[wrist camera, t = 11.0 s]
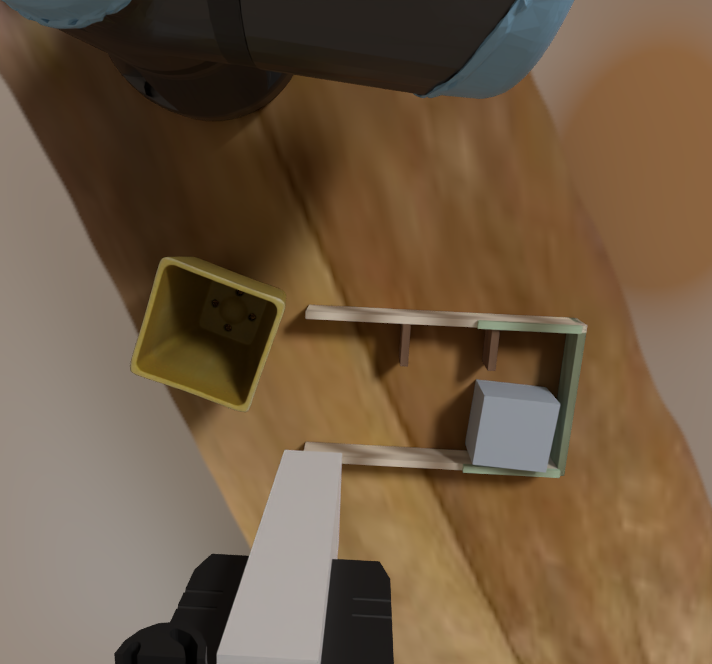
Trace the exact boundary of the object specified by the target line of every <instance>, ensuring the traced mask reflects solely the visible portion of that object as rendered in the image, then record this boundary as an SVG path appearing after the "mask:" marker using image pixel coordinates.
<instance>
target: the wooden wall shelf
mask: <svg viewBox="0 0 712 664" xmlns="http://www.w3.org/2000/svg"><path fill="white" fill-rule="evenodd" d="M305 319H319V320H339V321H359V322H379V323H398V324H401V333H400V348H399V361H400V366H408V356H409V342H410V328H411V324H418V325H438V326H458V327H477V328H478V329H485V337H484V347H483V356H482V362H483V364H484V365H485V367H486V368H487V370H488V371H495V369H496V361H497V352H498V343H499V334H500V330H513V331H533V332H552V333H566V340H565V347H564V354H563V361H562V368H561V375H560V381H559V388H558V395H557V401H558V402H559V403H560V404H561V405H560V409H559V414H558V419H557V423H556V428H555V432H554V437H553V442H552V446H551V451H550V456H549V460H548V465H547V470H546V473H545V472H536V471H527V470H518V469H509V468H499V467H490V466H481V465H473V464H472V462H471V459H470V456H469V453H468V451H466V450H447V449H429V448H411V447H392V446H374V445H355V444H337V443H318V442H306V443H305V447H304V451H316V452H334V453H342V464H358V465H376V466H394V467H413V468H431V469H449V470H463V473H480V474H498V475H516V476H534V477H552V478H560V476H564V473H565V466H566V460H567V453H568V447H569V441H570V434H571V428H572V421H573V415H574V408H575V402H576V395H577V389H578V382H579V376H580V369H581V363H582V356H583V350H584V344H585V337H586V331H587V325H586V324H584V323H583V322H581V321H580V320H578V319H577V318H564V317H544V316H524V315H504V314H484V313H464V312H444V311H424V310H404V309H384V308H364V307H344V306H324V305H309V306H308V308H307V310H306V318H305Z"/></svg>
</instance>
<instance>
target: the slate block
mask: <svg viewBox="0 0 712 664" xmlns="http://www.w3.org/2000/svg"><path fill="white" fill-rule="evenodd" d="M560 405H561V404H560V403H559V402H558V401H557V399H556V398H555V397H554V396H553V395H552V394H551V392H550V391H549V390H548V389H547V388H546V387H540V386H530V385H521V384H512V383H503V382H494V381H485V380H476V383H475V388H474V394H473V400H472V406H471V412H470V418H469V424H468V429H467V435H466V441H465V445H466V448H467V450H468V453H469V456H470V459H471V462H472V464H473V465H481V466H490V467H499V468H509V469H518V470H527V471H536V472H545V473H546V470H547V465H548V460H549V456H550V451H551V446H552V442H553V437H554V432H555V428H556V423H557V419H558V414H559V409H560Z"/></svg>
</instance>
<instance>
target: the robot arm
mask: <svg viewBox="0 0 712 664" xmlns="http://www.w3.org/2000/svg"><path fill="white" fill-rule="evenodd" d="M2 1H4V2H6V4H7V5H8V6H9V7H10V8H12V9H13V10H15V11H18V12H19V13H20V14H21V15H22V16H23V17H25V18H27V19H29V20H33V21H37V22H38V23H39V24H41V25H44V26H48V27H52V28H57V29H59V30H61V31H63V32H65V33H67V34H69V35H71V36H74V37H76V38H78V39H80V40H82V41H84V42H86V43H88V44H90V45H92V46H94V47H96V48H98V49H100V50H103V51H105V52H107V53H108V55H109V56H110V58H111V60H112V61H113V63H114V64H115V66H116V67H117V69H118V70H119V71H120V73H121V74H122V75H123V76H124V77H125V79H126V80H127V81H128V82H129V83H130V84H131V85H132V86H133V87H134V88H135V89H136V90H138V91H139V92H140V93H141V94H142V95H144V96H145V97H146V98H148V99H149V100H151V101H152V102H154V103H155V104H157V105H159V106H161V107H163V108H165V109H167V110H169V111H172V112H175V113H178V114H180V115H183V116H186V117H190V118H194V119H199V120H206V121H221V120H229V119H234V118H238V117H242V116H244V115H247V114H250V113H252V112H254V111H256V110H258V109H259V108H261V107H263V106H264V105H266V104H267V103H269V102H270V101H271V100H272V99H274V98H275V97H276V96H277V95H278V94H279V93H280V92H281V91H282V90H283V89H284V87H285V86H286V85H287V84H288V82H289V81H290V80H291V78H292V77H293V75H300V76H306V77H312V78H319V79H325V80H331V81H338V82H344V83H351V84H357V85H363V86H370V87H376V88H383V89H389V90H395V91H402V92H408V93H413V94H414V95H416V96H418V97H421V98H425V97H429V98H433V97H437V96H440V95H445V96H455V97H466V98H476V99H484V98H489V97H494V96H497V95H499V94H502V93H504V92H506V91H508V90H509V89H511V88H512V87H514V86H515V85H516V84H517V83H519V82H520V81H521V80H522V79H523V78H524V77H525V76H526V75H527V74H528V73H529V72H530V71H531V70H532V68H533V67H534V66H535V65H536V64H537V62H538V61H539V60H540V58H541V57H542V55H543V54H544V52H545V51H546V50H547V48H548V46H549V45H550V43H551V42H552V40H553V39H554V37H555V35H556V34H557V32H558V30H559V28H560V27H561V25H562V23H563V21H564V19H565V17H566V15H567V13H568V12H569V10H570V8H571V6H572V4H573V2H574V0H2ZM341 470H342V453H334V452H316V451H297V450H284V453H283V456H282V459H281V462H280V465H279V468H278V471H277V474H276V477H275V480H274V483H273V486H272V489H271V492H270V495H269V498H268V501H267V504H266V507H265V510H264V513H263V516H262V519H261V522H260V525H259V528H258V531H257V534H256V537H255V540H254V543H253V546H252V549H251V552H250V555H249V556H242V555H225V554H211V555H210V556H209V557H208V558H207V559H206V560H204V561H203V562H202V563H201V564H200V565H199V566H198V567H197V568H196V569H195V570H194V572H193V574H192V576H191V578H190V581H189V583H188V585H187V587H186V591H185V593H183V596H182V598H181V600H180V602H179V604H178V609H176V611H175V613H174V615H173V617H172V619H171V621H170V622H168V623H158V624H155V625H152V626H150V627H147V628H144V629H141V630H139V631H138V632H136V633H135V634H134V635H132V636H131V637H129V638H128V639H126V640H125V641H124V642H123V644H122V645H121V646H120V647H119V649H118V650H117V651H116V652H115V664H394V658H393V634H392V611H391V587H390V578H389V576H388V575H387V573H386V571H385V570H384V568H383V566H382V565H381V563H380V562H379V561H361V560H343V559H337V555H338V544H339V519H340V495H341Z"/></svg>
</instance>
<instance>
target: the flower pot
mask: <svg viewBox="0 0 712 664" xmlns="http://www.w3.org/2000/svg"><path fill="white" fill-rule="evenodd" d="M237 290H240V291H243V295H241V296H239V295H237ZM213 300H217V301H218V302H219V305H218V306H217V307H215V306H213V304H212V302H213ZM285 305H286V294H285V292H284V291H282V290H281V289H279V288H276V287H273V286H270V285H268V284H265V283H262V282H259V281H257V280H254V279H251V278H249V277H246V276H243V275H241V274H238V273H235V272H233V271H230V270H227V269H225V268H222V267H220V266H217V265H215V264H212V263H210V262H207V261H205V260H202V259H200V258H196V257H190V256H187V257H164V258H162V259H161V261H160V263H159V266H158V269H157V273H156V276H155V279H154V284H153V287H152V291H151V294H150V298H149V301H148V305H147V309H146V312H145V316H144V319H143V322H142V326H141V329H140V333H139V336H138V339H137V343H136V346H135V349H134V352H133V355H132V359H131V365H130V369H131V372H132V373H134V374H136V375H138V376H141V377H144V378H147V379H150V380H153V381H156V382H159V383H163V384H165V385H168V386H171V387H174V388H177V389H180V390H183V391H186V392H189V393H191V394H194V395H197V396H199V397H202V398H205V399H207V400H210V401H212V402H215V403H217V404H220V405H223V406H225V407H228V408H230V409H233V410H236V411H241V412H247V411H248V410H249V408H250V406H251V403H252V400H253V397H254V394H255V391H256V388H257V385H258V382H259V379H260V377H261V374H262V371H263V368H264V365H265V363H266V360H267V357H268V354H269V352H270V349H271V346H272V343H273V341H274V338H275V335H276V332H277V329H278V327H279V324H280V321H281V319H282V316H283V313H284V310H285ZM250 314H254V315H255V317H256V318H255V319H254V320H250V319H249V315H250ZM227 324H229V325H230V326H231V330H229V331H227V330H226V329H225V325H227Z"/></svg>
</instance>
